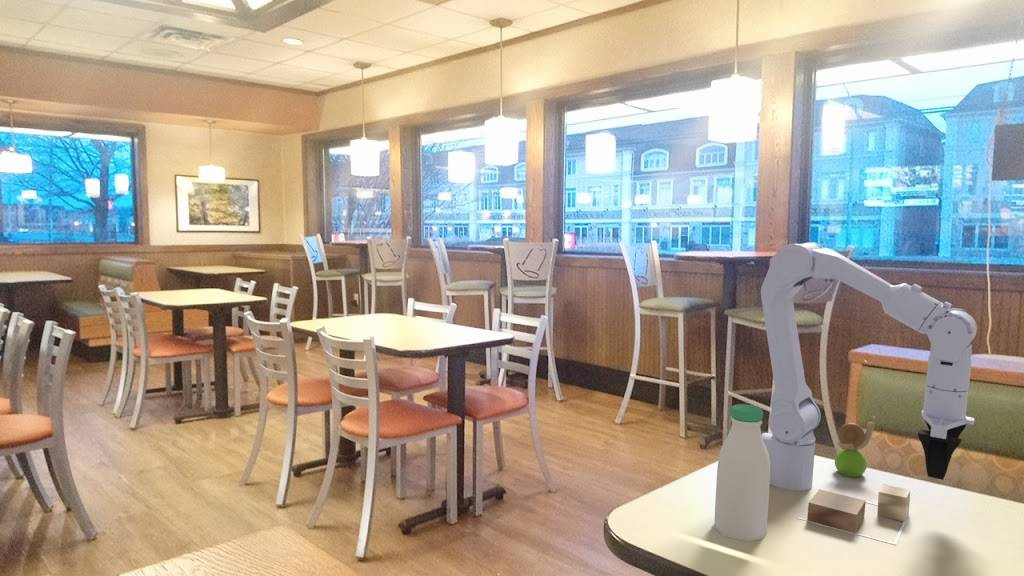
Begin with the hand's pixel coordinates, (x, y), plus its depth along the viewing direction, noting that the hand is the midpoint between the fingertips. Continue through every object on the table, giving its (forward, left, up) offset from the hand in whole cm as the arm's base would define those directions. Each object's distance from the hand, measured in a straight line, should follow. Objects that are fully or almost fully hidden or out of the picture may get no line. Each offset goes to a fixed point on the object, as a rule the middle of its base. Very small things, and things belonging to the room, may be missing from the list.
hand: (938, 470), depth 110 cm
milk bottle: (-23, -23, -9) cm, 34 cm away
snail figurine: (-14, +13, -9) cm, 22 cm away
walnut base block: (-12, -10, -8) cm, 18 cm away
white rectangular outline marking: (-10, -6, -9) cm, 15 cm away
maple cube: (-5, -2, -8) cm, 10 cm away
